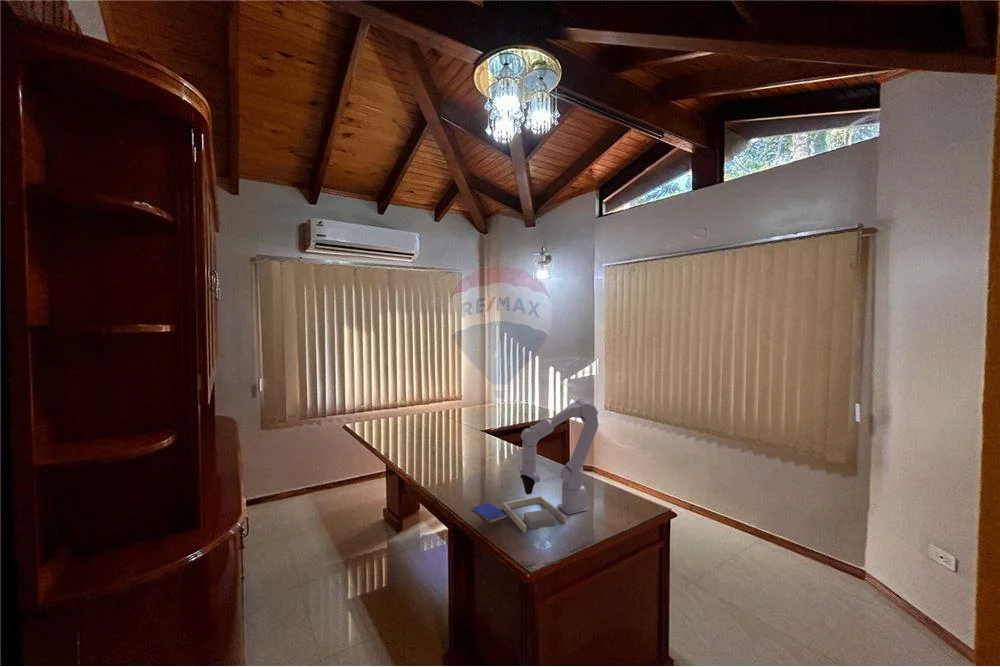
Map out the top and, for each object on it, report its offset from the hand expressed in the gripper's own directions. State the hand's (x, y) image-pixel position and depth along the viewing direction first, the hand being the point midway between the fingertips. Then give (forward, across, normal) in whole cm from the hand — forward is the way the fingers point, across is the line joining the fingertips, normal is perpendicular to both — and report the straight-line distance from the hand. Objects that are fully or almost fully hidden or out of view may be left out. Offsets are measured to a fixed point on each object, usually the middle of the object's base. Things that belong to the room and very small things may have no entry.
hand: (528, 493), depth 150 cm
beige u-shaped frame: (+7, +4, 0) cm, 8 cm away
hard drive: (+8, -4, -15) cm, 17 cm away
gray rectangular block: (+8, +9, 0) cm, 12 cm away
